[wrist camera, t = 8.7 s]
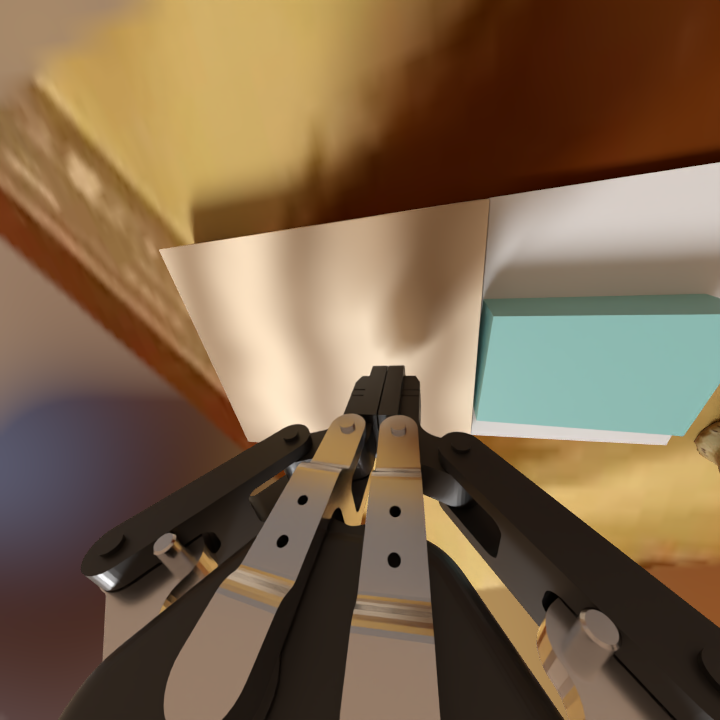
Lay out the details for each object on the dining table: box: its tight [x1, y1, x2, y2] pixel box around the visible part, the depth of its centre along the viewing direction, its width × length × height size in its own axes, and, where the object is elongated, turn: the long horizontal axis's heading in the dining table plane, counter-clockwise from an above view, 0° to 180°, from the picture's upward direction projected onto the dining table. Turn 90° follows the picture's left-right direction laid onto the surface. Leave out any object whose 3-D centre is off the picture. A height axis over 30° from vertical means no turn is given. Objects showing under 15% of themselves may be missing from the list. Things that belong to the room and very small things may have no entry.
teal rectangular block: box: [473, 294, 720, 436], centre depth 13 cm, size 9×6×2 cm, turn 95°
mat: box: [471, 162, 720, 445], centre depth 14 cm, size 11×14×1 cm
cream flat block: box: [159, 199, 490, 442], centre depth 16 cm, size 16×14×2 cm
